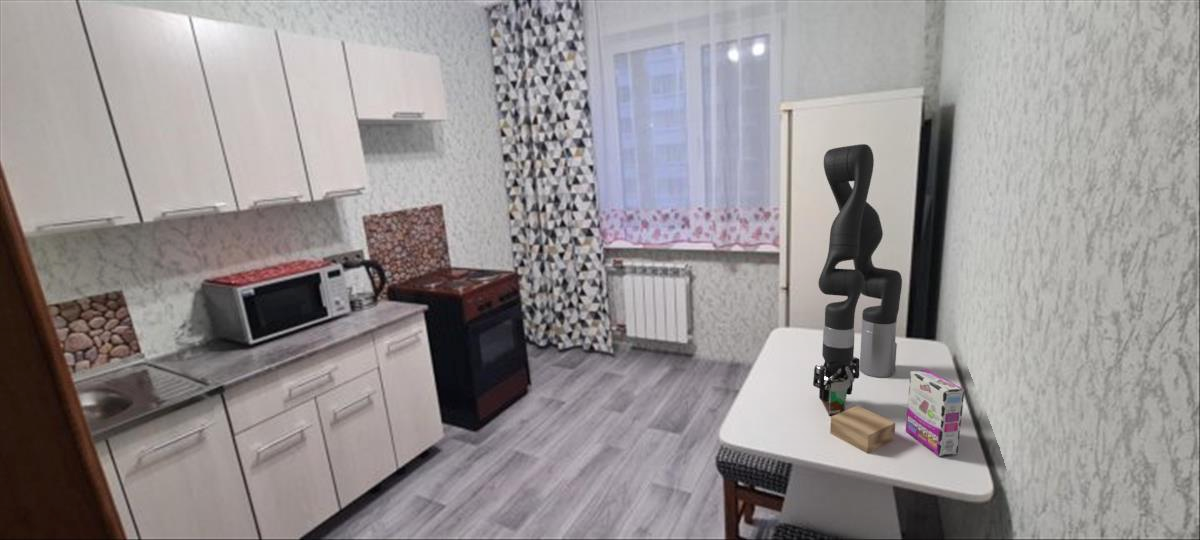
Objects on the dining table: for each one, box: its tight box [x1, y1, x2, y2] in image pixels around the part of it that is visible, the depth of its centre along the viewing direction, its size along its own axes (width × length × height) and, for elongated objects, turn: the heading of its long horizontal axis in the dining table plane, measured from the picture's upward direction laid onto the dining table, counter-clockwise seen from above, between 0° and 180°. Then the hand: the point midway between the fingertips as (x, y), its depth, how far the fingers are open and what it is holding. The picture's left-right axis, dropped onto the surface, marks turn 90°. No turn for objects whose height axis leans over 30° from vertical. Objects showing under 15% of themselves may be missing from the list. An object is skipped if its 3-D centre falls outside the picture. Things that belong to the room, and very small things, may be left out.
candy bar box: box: [905, 369, 965, 458], centre depth 114 cm, size 11×5×16 cm, turn 5°
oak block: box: [829, 405, 896, 454], centre depth 120 cm, size 10×10×5 cm
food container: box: [820, 364, 851, 417], centre depth 133 cm, size 12×6×10 cm, turn 169°
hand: (835, 397), depth 133 cm, fingers open, 8 cm apart
